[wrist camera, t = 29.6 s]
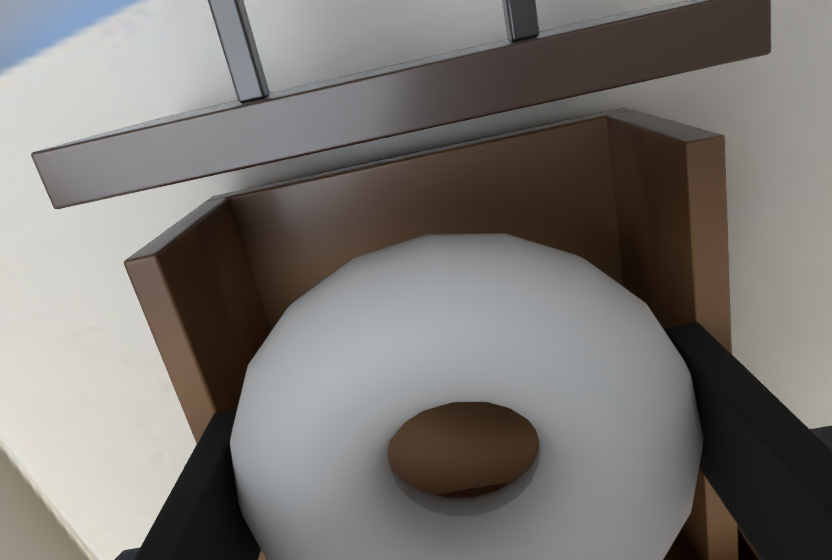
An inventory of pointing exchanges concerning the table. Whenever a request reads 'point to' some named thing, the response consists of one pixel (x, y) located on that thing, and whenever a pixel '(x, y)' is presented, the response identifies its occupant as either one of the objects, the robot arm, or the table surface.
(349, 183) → the drawer
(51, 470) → the table surface
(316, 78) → the table surface
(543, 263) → the donut
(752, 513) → the robot arm
